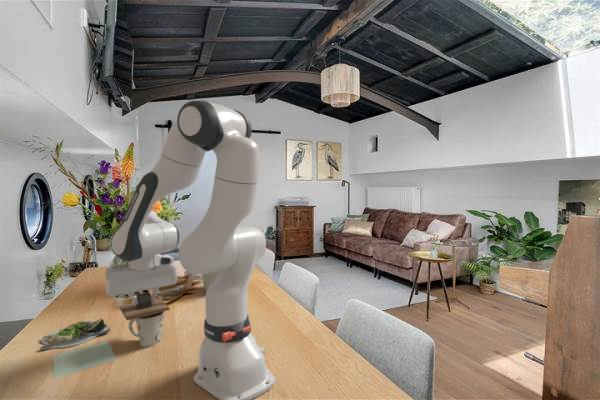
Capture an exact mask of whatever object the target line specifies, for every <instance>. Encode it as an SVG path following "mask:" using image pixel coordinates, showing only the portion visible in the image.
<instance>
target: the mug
mask: <svg viewBox="0 0 600 400" xmlns="http://www.w3.org/2000/svg"><path fill="white" fill-rule="evenodd" d="M164 319H165V311H163V312H159V313H155V314H151V315H147V316H143V317H139V318H135V319H131V320H128V321H129V322H128V331H129V332H130V333H131V334H132V335H133V336H134V337H138V340H139V345H140V347H142V348H150V347H154V346H156V345H158V344H160V343H161V342H162V337H163V327H164ZM134 322H136V328H137V332H136V331H135V330H134V327H133V323H134Z"/></svg>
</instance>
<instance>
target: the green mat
mask: <svg viewBox="0 0 600 400" xmlns="http://www.w3.org/2000/svg"><path fill="white" fill-rule="evenodd" d="M109 341H110V340H107V341H104V342H100V343H96V344H92V345H89V346H86V347H81V348H78V349H75V350H70V351H67V352H63V353H60V354H56V355H52V358H53V359H52V360H53V361H52V362H53V377H54V379H58V378H62V377H65V376H68V375H71V374H75V373H78V372H80V371H84V370H88V369H90V368H93V367H97V366H101V365H103V364H107V363H109V362H114V361H116V360H117V357H116V355H115V353H114V351H113V348H112V346H111V343H110V342H109Z"/></svg>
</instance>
